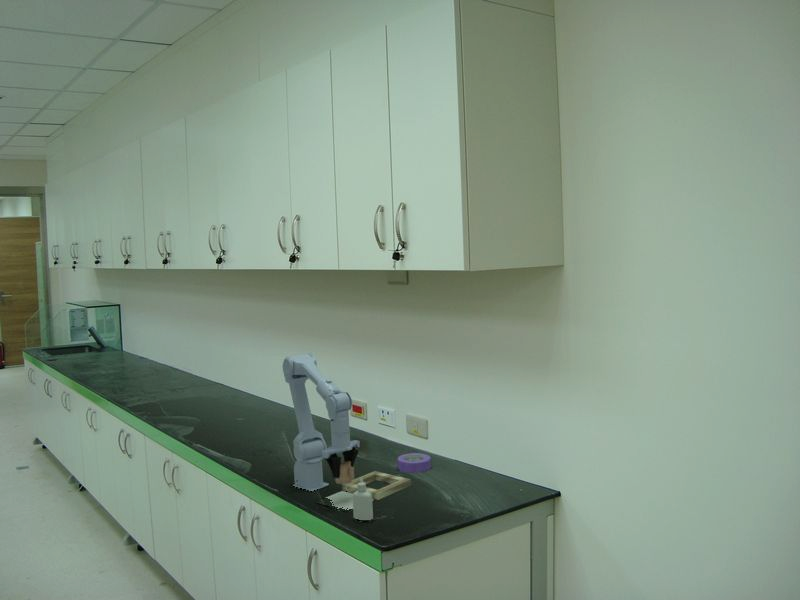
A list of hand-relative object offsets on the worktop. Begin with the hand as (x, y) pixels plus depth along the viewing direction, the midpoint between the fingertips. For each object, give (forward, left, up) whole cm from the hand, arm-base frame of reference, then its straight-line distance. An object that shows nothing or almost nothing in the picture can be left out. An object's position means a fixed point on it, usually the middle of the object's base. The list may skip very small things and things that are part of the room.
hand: (342, 475), depth 217 cm
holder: (0, +15, -8) cm, 17 cm away
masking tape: (-3, +38, -9) cm, 39 cm away
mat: (0, 0, -8) cm, 8 cm away
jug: (0, 0, -2) cm, 2 cm away
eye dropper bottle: (+15, -7, -9) cm, 19 cm away
